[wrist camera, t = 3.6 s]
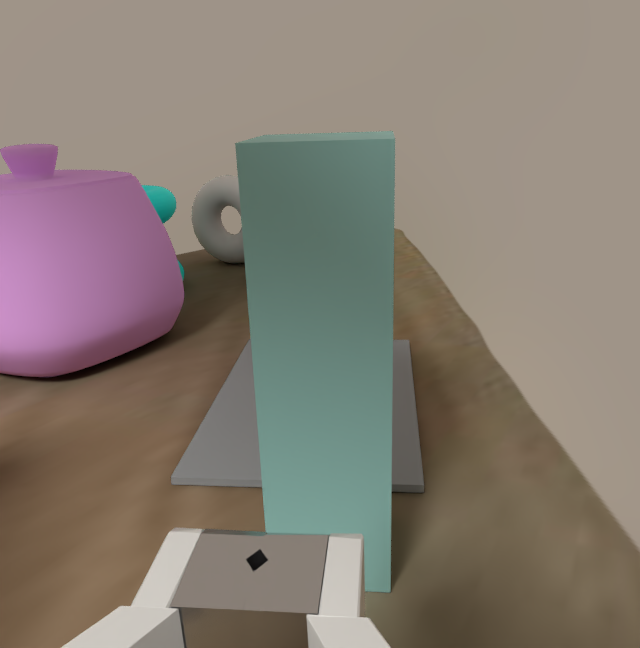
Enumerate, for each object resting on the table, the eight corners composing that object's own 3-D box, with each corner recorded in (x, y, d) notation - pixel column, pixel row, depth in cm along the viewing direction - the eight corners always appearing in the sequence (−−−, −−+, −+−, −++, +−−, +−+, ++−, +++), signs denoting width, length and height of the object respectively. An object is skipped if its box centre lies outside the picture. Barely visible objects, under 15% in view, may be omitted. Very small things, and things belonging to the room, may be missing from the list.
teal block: (390, 592, 22) (394, 138, 17) (270, 586, 23) (235, 143, 17) (389, 514, 26) (392, 131, 21) (287, 510, 27) (264, 135, 21)
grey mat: (424, 492, 28) (424, 485, 27) (171, 484, 29) (170, 477, 29) (408, 344, 44) (408, 339, 44) (249, 343, 46) (249, 339, 46)
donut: (279, 262, 69) (274, 173, 66) (266, 269, 66) (259, 177, 63) (206, 256, 73) (198, 172, 70) (190, 263, 70) (180, 176, 67)
